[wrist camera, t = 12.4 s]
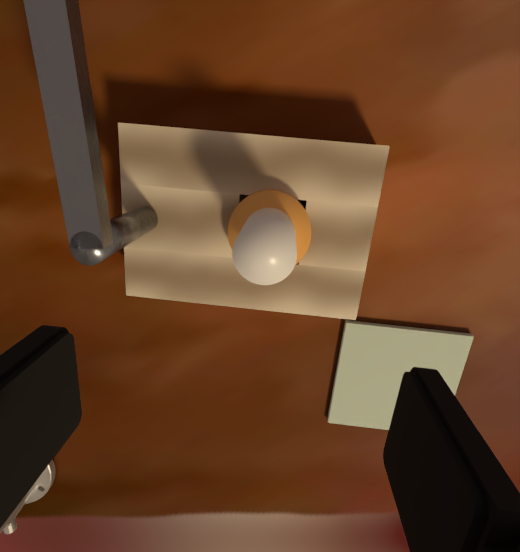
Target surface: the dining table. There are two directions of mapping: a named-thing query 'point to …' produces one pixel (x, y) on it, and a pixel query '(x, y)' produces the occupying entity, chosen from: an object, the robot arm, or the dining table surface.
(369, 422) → the mat
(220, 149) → the socket block
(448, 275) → the dining table surface
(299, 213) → the plug
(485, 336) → the dining table surface
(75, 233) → the grey bar
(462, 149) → the dining table surface
